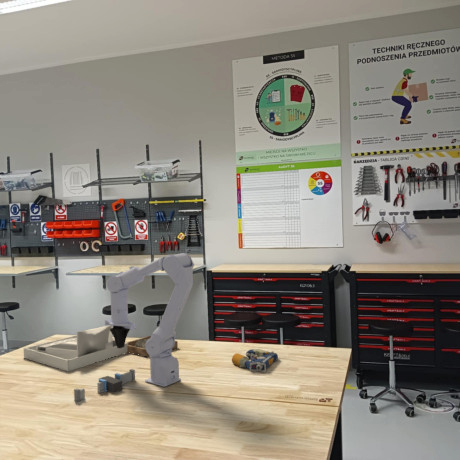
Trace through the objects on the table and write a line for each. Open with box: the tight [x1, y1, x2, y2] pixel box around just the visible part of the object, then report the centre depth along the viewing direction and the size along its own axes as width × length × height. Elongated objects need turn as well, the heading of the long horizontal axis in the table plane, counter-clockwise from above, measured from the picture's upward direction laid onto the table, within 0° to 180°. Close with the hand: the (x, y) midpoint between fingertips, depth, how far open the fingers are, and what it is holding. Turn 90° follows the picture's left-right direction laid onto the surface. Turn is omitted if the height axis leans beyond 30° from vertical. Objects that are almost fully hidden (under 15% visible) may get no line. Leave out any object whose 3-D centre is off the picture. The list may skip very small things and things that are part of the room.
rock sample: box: [135, 337, 148, 349], centre depth 187 cm, size 10×8×9 cm
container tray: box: [23, 334, 128, 372], centre depth 186 cm, size 31×28×4 cm
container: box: [36, 325, 117, 360], centre depth 186 cm, size 22×25×12 cm
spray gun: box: [231, 348, 279, 373], centre depth 169 cm, size 21×4×15 cm
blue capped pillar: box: [73, 368, 136, 403], centre depth 145 cm, size 3×22×4 cm, turn 143°
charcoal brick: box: [98, 375, 123, 394], centre depth 146 cm, size 8×3×3 cm, turn 50°
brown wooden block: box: [126, 335, 179, 358], centre depth 191 cm, size 17×16×3 cm
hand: (120, 347), depth 159 cm, fingers closed
